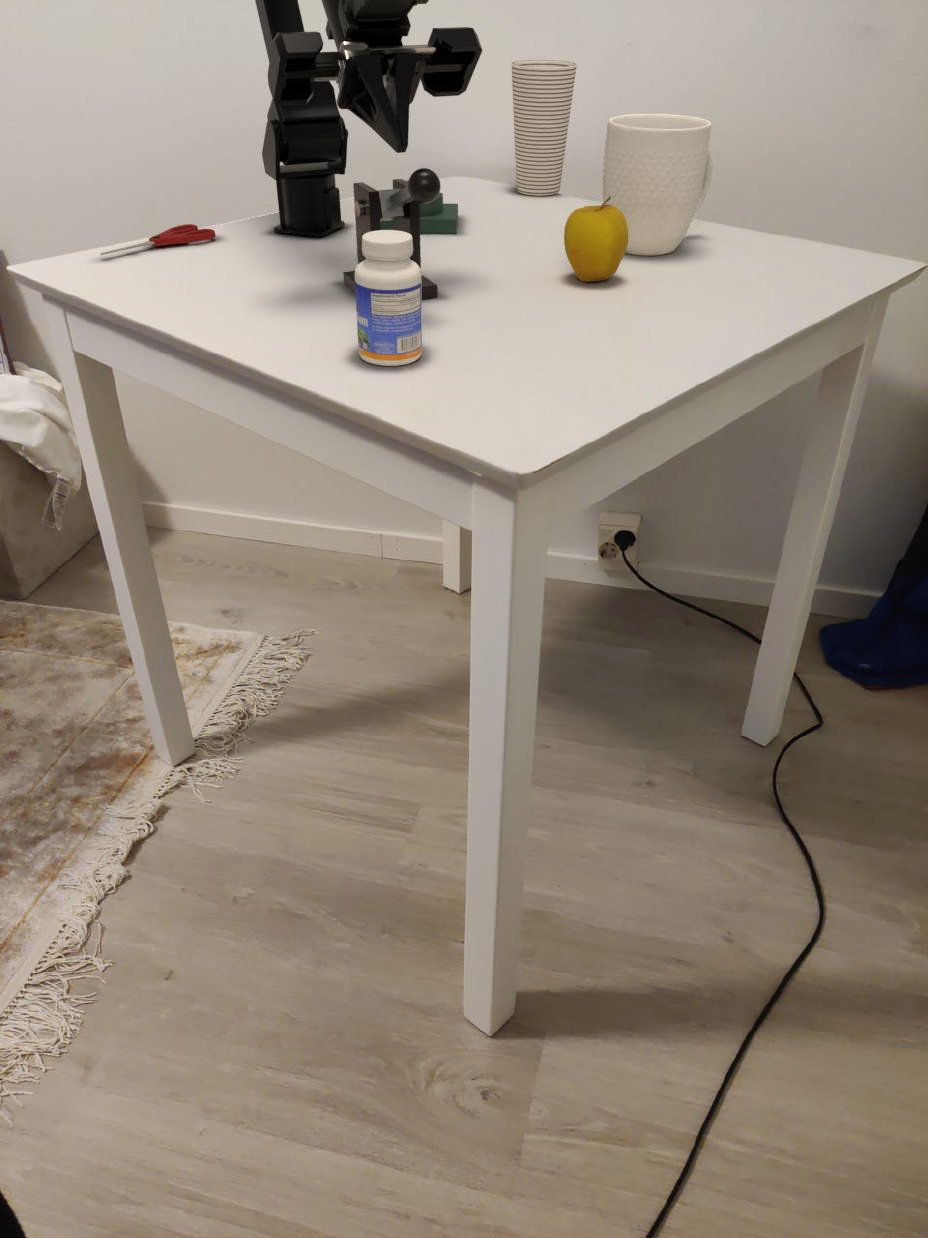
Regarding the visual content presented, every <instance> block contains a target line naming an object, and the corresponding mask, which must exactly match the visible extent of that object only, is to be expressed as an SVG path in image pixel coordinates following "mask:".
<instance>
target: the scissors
mask: <svg viewBox="0 0 928 1238" xmlns="http://www.w3.org/2000/svg"><path fill="white" fill-rule="evenodd" d="M214 238H216V231H215V229H213V228H198V225H196V224H193V223H192V224H191V223H189V224H188V223H187V224H181V225H176V226H174V227H170V228H169V229H166V230H165V231H162V232H160V233H158V234H155V235H153V236H150V237H149V238H148V240H146V241H143V242H139V243H136V244H133V245H129V246H124V247H120V248H116V249H112V250H108V251H103V252H100V254H99V255H100V256H104V255H109V254H113V253H117V252H121V251H126V250H131V249H135V248H141V247H145V246H152V247H161V246H169V245H178V244H186V243H195V242H203V241H209V240H212V239H214Z"/></svg>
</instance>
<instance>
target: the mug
mask: <svg viewBox="0 0 928 1238" xmlns="http://www.w3.org/2000/svg"><path fill="white" fill-rule="evenodd" d="M606 126H607V127H606V135H605V136H606V137H605V141H604V142H605V143H604V146H605V147H604V156H603V164H602V165H603V170H602V172H603V173H602V174H603V175H602V200H603V203H604V202H605V201H606V200H607V199H608V198H609V197H610V196H611V199H610V200H609V201H608V202H606V203H605V205H613V206H615V207H616V208H618V209H619V210H620V211H621V212H622V213H623V215H624V217H625V220H626V223H627V227H628V245H627V248H626V251H625V254H630V255H634V256H648V257H649V256H652V257H653V256H663V255H666V254H670V253H673V252H675V250H676V249H677V248H678V246H679V245H680V243H682V240H683V239H684V237H685V236H686V235H687V233H688V230H689V228H690V226H691V223H692V221H693V218H694V217H695V214H696V213H697V212H698V211H699V210H700V208H701V206H702V205H703V203H704V202H705V199H706V197H707V194H708V192H709V189H710V186H711V181H712V176H713V158H712V153H711V150H710V140H711V139H710V138H711V131H712V122H711V121H710V120H708V119H706V118H702V117H698V116H692V115H685V114H684V115H682V114H672V113H631V114H621V115H617V116H612V117H610V118H608V120H607V125H606Z"/></svg>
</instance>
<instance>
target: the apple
mask: <svg viewBox="0 0 928 1238" xmlns="http://www.w3.org/2000/svg"><path fill="white" fill-rule="evenodd" d="M610 199H611V196H610V197H609V198H608V199H607V200H606V201H605V202H604V201H603V203H602V204H600V205H586V206H583V207H579V208H577V209H574V210H573V211H572V212H571V213H570V214H569V216H568V217H567V220H566V222H565V225H564V231H563V232H564V233H563V240H564V241H563V243H564V251H565V255H566V258H567V260H568V262H569V264H570V266H571V268H572V270H573V272H574V274H575V276H576V277H577V279H579V280H580V281H582V282H596V281H601V282H602V281H605V280H607V279H609V278H611V276H613V275H614V274H615V273H616V272H617V271H618V268H619V267H620V264H621V263H622V260H623V258H624V256H625V254H626V253H625V251H626V248H627V245H628V227H627V223H626V220H625V217H624V215H623V213H622V212H621V211H620V210H619V209H618V208H616V207H615V206H613V205H605V203H606V202H608V201H609V200H610Z"/></svg>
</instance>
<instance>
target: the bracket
mask: <svg viewBox="0 0 928 1238" xmlns="http://www.w3.org/2000/svg"><path fill="white" fill-rule="evenodd" d="M407 186H408V182H407V180H405V179H404V178H397V179H396V178H394V179H392V189H400V190H401V189H403V188H405V187H407ZM353 201H354V218H355V234H356V235H355V236H356V237H355V238H356V252H357V253H356V254H357V265H358V264H360V263H361V262H362V261H364V260H365V259H366V257H365V256H364V255H363V252H362V236H363V235H364V234H365V233H368V232H371V231H378V230H381V229H380V206H379V190H377V189H375V188H374V187H372V186H370V185H368V184H366V182H365V183H364V182H363V181H361V182H353ZM403 212H404V216H402V217H400V218H398V219H395V220H394V230H397V231H403V232H407V233H409V234H411V235H412V239H413V254H412V255H411V256H410V260H412V261H414V262H415V263H416V264H418V266H419V267H420V269H421V270H422V265H421V262H422V261H421V258H422V257H421V255H422V254H421V233H420V207H419V203H418V202H416V201H415V200H413V201H411V202H409V203H407V204H405V205H403ZM342 275H343V284H344V285H345V286H346V287H347V288H348V289H350V290H351V291H352V292H353V293H354V294H356V292H355V270H349V271H343V274H342ZM421 279H422V300H428V299H434V298H438V297H439V295H438V294H439V293H438V290H439V289H438V284H437V283H435V282H433V281H432V280H431V279H429V278H428V277H426V276H425V275H423V274H422V273H421Z"/></svg>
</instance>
